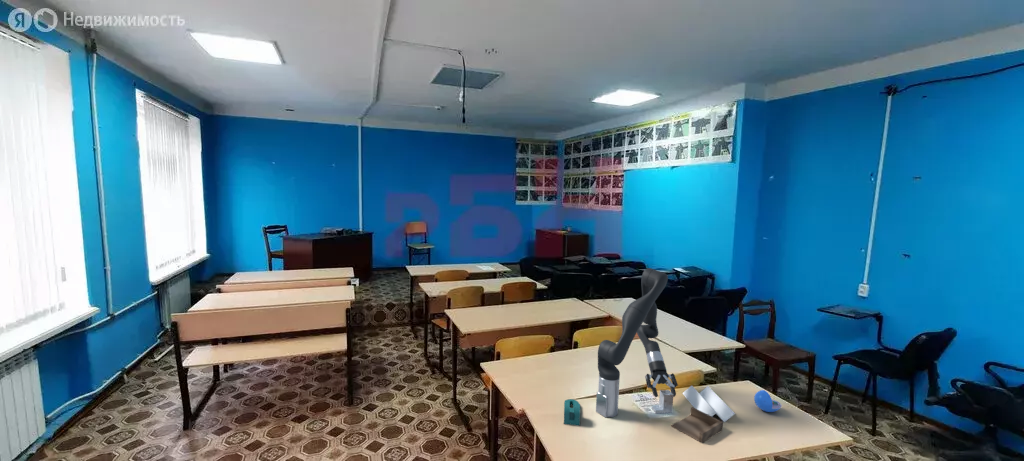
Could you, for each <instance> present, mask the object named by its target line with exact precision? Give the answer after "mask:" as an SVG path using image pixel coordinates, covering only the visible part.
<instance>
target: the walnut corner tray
mask: <svg viewBox="0 0 1024 461" xmlns="http://www.w3.org/2000/svg"><path fill="white" fill-rule="evenodd" d="M670 425H671V426H670V427H672V428H674V429H676V430H677V431H679V432H681V433H682V434H684V435H686V436H688V437H690V438H691V439H693V440H695V441H697V442H699V443H700V444H703V443H705V442H706V441H708V440H709V439H711V438H713V437H714V436H716V435H718V434H719V433H722V432H723V425H724V422H723V421H722V420H721V419H718V418H716V417H714V416H710V415H708V414H706V413H704V412H702V411H699V410H697V409H695V408H694V407H693V406H692V407H691V408H690V415H688V416H686V417H684V418H682V419H680V420H678V421H677V422H674V423H672V424H670Z"/></svg>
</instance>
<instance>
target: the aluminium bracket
mask: <svg viewBox="0 0 1024 461" xmlns="http://www.w3.org/2000/svg"><path fill="white" fill-rule="evenodd" d="M658 397H659V398H658V400H659V401H658V404H655V405H654V404H652V405H651V410H652V411H653V412H654V414H656V415H657V414H673V409H674V408H673V405H674V397H673V394H672V393H671V390H669V389H660V390H659V396H658Z"/></svg>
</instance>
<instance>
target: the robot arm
mask: <svg viewBox="0 0 1024 461" xmlns="http://www.w3.org/2000/svg"><path fill="white" fill-rule="evenodd" d="M668 280H669V275H668V274H667V273H665V272H663V271H660V270H656V269H653V268H652V267H651V268H650V267H648V268H645V269H644V271H643V272H642V275H641V282H640V283H641V297H639V298H637V299H636V300H633V301H632V302H631V303H629V304H628V306H627V307H626V309H625V310H624V312H623V315H622V319H621V326H622V327H621V328H622V330H621V331H622V333H621V335H620V338H619V340H618V341H617V343H616V342H615V341H611V340H609V339H604V340H602V341H601V342H599V346H598V349H597V370H598V388H597V389H598V390H597V391H596V401H595V403H596V404H595V412H596V413H597V414H599V415H601V416H602V417H604V418H614V417H616V416H618V412H619V395H620V394H619V393H620V377H621V373H620V370H619V369H618V367H617V366H619V365H621V364H622V362H623V361H624V359H625V358H626V356H627V354H628V352H629V349H630V346H631V344H632V342H633V340H634V338H635V337H636V334H637V337H638V338H639V339H640V341H641V343H642V345H643V348H644V350H645V354H646V361H647V364H648V368H649V370H650V371H649V372H650V374H649V373H646V374H645V376H644V377H645V382H646V388H648V389H651V391H652V395H653V396H654V397H655V398H658V397H659V395H658V394H659V393H658V391H657V388H656V386H657V385H666V386H668V388H670V390H669V391H670V392H671V393H672V394H673V398H675V397H676V396H677V392H676V388H677V386H679V384H678V381H677V379H676V376H675V374H674V373H672V372H671V373H670V374H668V372H667V367H666V364H665V360H664V356H663V355H662V352H661V348H660V344H659V343H658V341H656V340H652V339H656V338H657V337H658V336H659V328H658V325H657V318H658V317H657V316H658V307H657V304H656V300H657V299H658V298H659V296H660V295H661V293H662V292H663V290H664V289H665V287H666V285H667V283H668V282H669V281H668ZM651 379H652V380H653V382H651Z"/></svg>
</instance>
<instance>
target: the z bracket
mask: <svg viewBox="0 0 1024 461" xmlns="http://www.w3.org/2000/svg"><path fill="white" fill-rule="evenodd" d="M682 395H683V396H684V397H685V399H686V400H687V401H688V402H689V404H690V405H691V406H692V407H693V408H695V409H697V410H699V411H702V412H704V413H706V414H708V415H710V416H712V417H714V415H716V416H718V418H719V419H720V420H721V421H722V422H723V423H726V422H727V421H728V420H729V419H730V418H732V417H733V416H734V415H736V413H735V412H734V411H733V409H732V408H730V406H728V405H727V404H726V402H725V401H724V400H722V398H720V397H719V395H717V394H716V392H715V391H714V390H713V389H712V388H711V387H710V386H709V385H707V386H706V387H705V388H704V389H702V390H701V391H700V392H698V390H697V389H696V388H695V387H694V386H693V385H690V386H689V387H688V388H687V389H685V390H684V391H683V392H682Z"/></svg>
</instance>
